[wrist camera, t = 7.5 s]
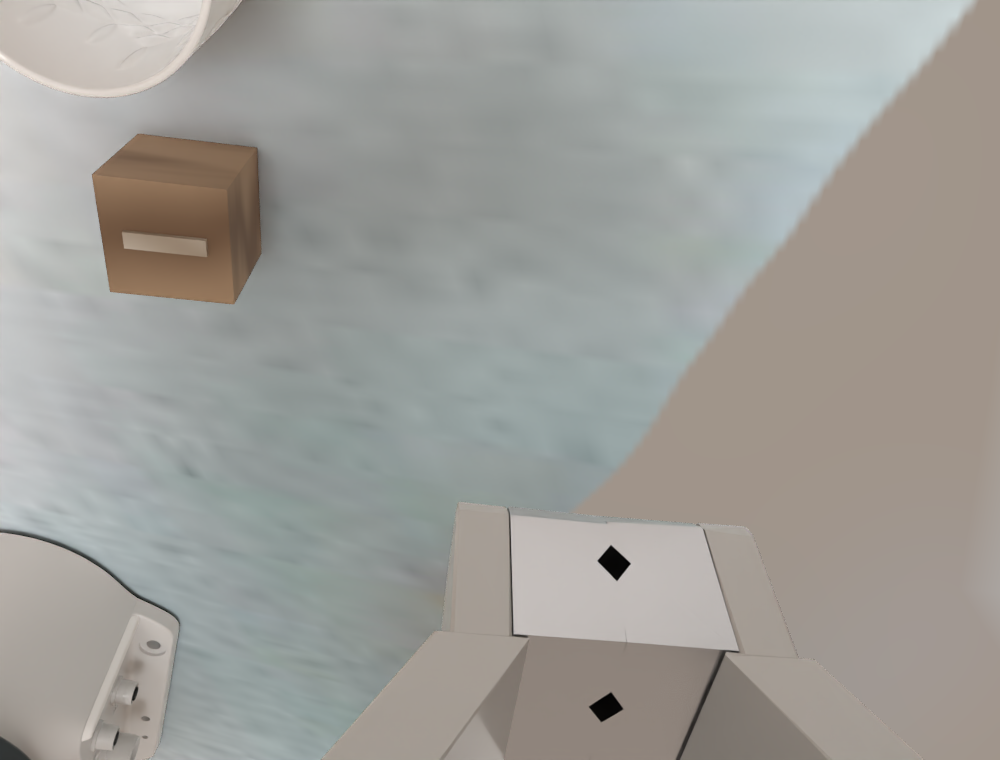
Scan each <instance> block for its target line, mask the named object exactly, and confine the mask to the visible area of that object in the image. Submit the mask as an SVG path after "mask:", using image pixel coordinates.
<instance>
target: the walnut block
mask: <svg viewBox="0 0 1000 760" xmlns="http://www.w3.org/2000/svg"><path fill="white" fill-rule="evenodd" d="M92 178H93V185H94V191H95V198H96V204H97V210H98V217H99V223H100V230H101V236H102V243H103V249H104V255H105V262H106V268H107V275H108V281H109V287H110V292H117V293H127V294H137V295H146V296H156V297H166V298H176V299H186V300H196V301H205V302H215V303H225V304H235V302H236V300H237V298H238V296H239V294H240V292H241V291H242V289H243V287H244V285H245V283H246V281H247V279H248V277H249V276H250V274H251V272H252V270H253V268H254V266H255V264H256V262H257V261H258V259H259V257H260V255H261V230H260V206H259V181H258V157H257V148H256V147H247V146H239V145H230V144H222V143H213V142H204V141H196V140H187V139H179V138H170V137H161V136H153V135H144V134H137V135H136V136H135V137H134V138H133V139H132V140H130V141H129V142H128V143H127V144H126V145H125V146H124V147H123V148H121V149H120V150H119V151H118V152H117V153H116V154H115V155H114V156H112V157H111V158H110V159H109V160H108V161H107V162H106V163H104V164H103V165H102V166H101V167H100V168H99V169H98V170H97V171H95V172H94V173H93V174H92Z"/></svg>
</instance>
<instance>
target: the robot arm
mask: <svg viewBox="0 0 1000 760" xmlns="http://www.w3.org/2000/svg"><path fill="white" fill-rule="evenodd" d="M178 634H179V623H178V621H177V620H176V619H175V618H174V617H173V616H172V615H170V614H169V613H167V612H166V611H164V610H162V609H160V608H158V607H156V606H154V605H151V604H149V603H147V602H145V601H143V600H140V599H138V598H137V597H135V596H134V595H132V594H131V593H130V592H129V591H127V590H126V589H125V588H124V587H123V586H122V585H121V584H120V583H118V582H117V581H116V580H115V579H114V578H113V577H112V576H110V575H109V574H108V573H107V572H105V571H104V570H102V569H101V568H100V567H98V566H97V565H95V564H93V563H92V562H90V561H88V560H87V559H85V558H83V557H81V556H79V555H77V554H75V553H73V552H71V551H69V550H67V549H64V548H62V547H59V546H57V545H54V544H51V543H48V542H45V541H41V540H38V539H34V538H30V537H25V536H20V535H15V534H8V533H0V760H145V759H148V758H150V757H152V756H153V755H154V754H155V752H156V750H157V748H158V746H159V743H160V740H161V735H162V729H163V723H164V717H165V711H166V705H167V699H168V693H169V687H170V681H171V675H172V669H173V664H174V658H175V652H176V646H177V640H178ZM321 760H924V759H923V758H922V757H921V756H920V755H919V754H917V753H916V752H915V751H914V750H913V749H912V748H911V747H910V746H908V745H907V744H906V743H905V742H904V741H903V740H902V739H901V738H900V737H899V736H898V735H897V734H895V733H894V732H893V731H892V730H891V729H890V728H889V727H888V726H887V725H885V724H884V723H883V722H882V721H881V720H880V719H879V718H878V717H877V716H876V715H875V714H873V713H872V712H871V711H870V710H869V709H868V708H867V707H866V706H865V705H863V703H861V702H860V701H859V700H858V699H857V698H856V697H855V696H854V695H853V694H851V693H850V692H849V691H848V690H847V689H846V688H845V687H844V686H843V685H842V684H841V683H839V682H838V681H837V680H836V679H835V678H834V677H833V676H832V675H831V674H830V673H828V672H827V671H826V670H825V669H824V668H823V667H822V666H821V665H820V664H819V663H818V662H816V661H815V660H814V659H805V658H799V657H798V654H797V652H796V649H795V646H794V643H793V641H792V638H791V635H790V633H789V630H788V627H787V625H786V622H785V619H784V617H783V614H782V611H781V608H780V606H779V603H778V600H777V598H776V595H775V592H774V590H773V587H772V584H771V582H770V579H769V576H768V574H767V571H766V568H765V566H764V563H763V560H762V558H761V555H760V552H759V550H758V547H757V544H756V542H755V539H754V536H753V534H752V533H751V532H750V531H749V530H748V529H747V528H746V527H743V526H729V525H715V524H701V523H698V524H696V525H695V524H692V523H680V522H667V521H654V520H642V519H629V518H617V517H604V516H592V515H582V514H574V513H565V512H556V511H547V510H538V509H529V508H520V507H511V506H508V508H507V509H506V507H501V506H492V505H483V504H474V503H466V502H458V504H457V508H456V513H455V520H454V528H453V536H452V544H451V551H450V559H449V567H448V574H447V583H446V592H445V601H444V610H443V619H442V629H441V631H434V632H433V633H432V634H431V635H430V637H429V638H428V639H427V640H426V641H425V642H424V643H423V645H422V646H421V647H420V648H419V649H418V650H417V651H416V652H415V654H414V655H413V656H412V657H411V658H410V659H409V660H408V662H407V663H406V664H405V665H404V666H403V667H402V668H401V669H400V671H399V672H398V673H397V674H396V675H395V676H394V677H393V679H392V680H391V681H390V682H389V683H388V684H387V685H386V686H385V688H384V689H383V690H382V691H381V692H380V693H379V694H378V696H377V697H376V698H375V699H374V700H373V701H372V702H371V703H370V705H369V706H368V707H367V708H366V709H365V710H364V711H363V712H362V714H361V715H360V716H359V717H358V718H357V719H356V720H355V722H354V723H353V724H352V725H351V726H350V727H349V728H348V729H347V731H346V732H345V733H344V734H343V735H342V736H341V737H340V739H339V740H338V741H337V742H336V743H335V744H334V745H333V746H332V748H331V749H330V750H329V751H328V752H327V753H326V754H325V756H324V757H323V758H322V759H321Z"/></svg>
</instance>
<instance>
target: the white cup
mask: <svg viewBox="0 0 1000 760" xmlns="http://www.w3.org/2000/svg"><path fill="white" fill-rule="evenodd" d="M241 2H242V0H0V60H1V61H2V62H4V63H5V64H6V65H8V66H9V67H11V68H12V69H14V70H16V71H17V72H19V73H21V74H22V75H24V76H26V77H28V78H30V79H32V80H34V81H36V82H38V83H40V84H42V85H45V86H47V87H50V88H53V89H55V90H58V91H62V92H65V93H69V94H74V95H79V96H85V97H96V98H111V97H121V96H127V95H132V94H135V93H139V92H142V91H145V90H147V89H149V88H152V87H154V86H156V85H158V84H159V83H161V82H163V81H164V80H166V79H167V78H169V77H170V76H171V75H172V74H174V73H175V72H176V71H177V70H178V69H179V68H180V67H181V66H182V65H183V64H184V63H185V62H186V61H187V60H188V59H189V58H190V57H191V56H192V55H193V54H194V53H195V52H196V51H197V50H198V49H199V48H200V47H201V46H202V45H203V44H204V43H205V42H206V41H207V40H208V39H209V38H210V37H211V36H212V35H213V34H214V33H215V32H216V31H217V30H218V29H219V28H220V27H221V26H222V25H223V23H224V22H225V21H226V20H227V18H229V16H230V15H231V14H232V13H233V12H234V11H235V9H236V8H237V7H238V6H239V4H240V3H241Z"/></svg>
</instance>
